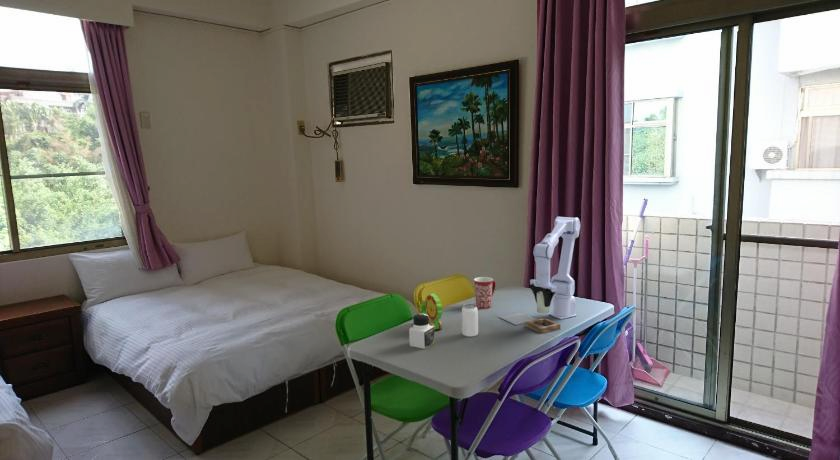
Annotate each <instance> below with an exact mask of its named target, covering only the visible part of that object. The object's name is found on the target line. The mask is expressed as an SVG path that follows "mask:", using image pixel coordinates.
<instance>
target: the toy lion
mask: <svg viewBox="0 0 840 460" xmlns="http://www.w3.org/2000/svg"><path fill="white" fill-rule="evenodd" d="M420 314H426V315H428V316H429V325H430V326H434V331H436V330H439V331H440V330H442V329H443V327H444V326H443V322H442V320H440V319H441V318H442V315H443V305H442V303H441V299H439V297H438V295H437V294H436V293H429V294H427V295H426V298H425V299H424V300H423V301H422V302H421V304H420Z"/></svg>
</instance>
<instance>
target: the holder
mask: <svg viewBox="0 0 840 460" xmlns="http://www.w3.org/2000/svg"><path fill="white" fill-rule="evenodd" d="M540 325H545V326H540ZM525 327H526V328H529V329H531V330H532V331H535V332H537V333H539V334H545V333H549V332H553V331H554V332H555V331H558V330H561V324H560V323H558V322H555V321H553V320H551V319H549V318H546V317H542V318H538V319H537V318H536V320H532V321H527V322H526V323H525Z"/></svg>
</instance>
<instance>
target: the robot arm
mask: <svg viewBox="0 0 840 460" xmlns="http://www.w3.org/2000/svg"><path fill="white" fill-rule="evenodd" d="M553 224H554V226H553V229H552V230H551V232H550V233H547V234H546V235H545V236H544V238H543V239H542V240H541V242H540V243H537V244H535V245H534V247H533V251H532V253H533V257H534V261H535V278H534V279H533V278H532V279H530V280H529V285H532V286H530V290H531V292H532V293H533V296H534V299H535V303H536V304H537V292H541V291H542V293H543V296H544V304H545V307H549V308H550V307H551V303H552V302H553V303H552V304H553V305H552V307H553V308H552V312H549V313H548V315H549V316H552V317H554V318H557V319H558V320H563V319H568V318H573V317H577V315H578V314H577V313H576V310H577V308H576V307H577V303H576V302H577V301H576V298H575V296H574V294H575V289H576V287H575V284H576V283H575V280H574V278H573V277H571V275H570V273H571V272H570V271H571V266H572V259H573V253H574V246H575V241H576V239H577V238H579V235H580V230H581V221H580V219H579V217H569V216H568V217H566V216H559V215H558V216H556V218H555V219H554V222H553ZM560 237H561V238H562V244H561V245H562V246H561V253H560V258H559V264H558V270H557V273H556V274H555V275H553V276H552V277H551V259H552V257H553V254H554V251H555V247H556V246H557V245H558V244H559V242H560V241H559V238H560Z"/></svg>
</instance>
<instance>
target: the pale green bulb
mask: <svg viewBox="0 0 840 460" xmlns="http://www.w3.org/2000/svg"><path fill="white" fill-rule="evenodd" d="M536 313H538V314H540V315H541V314H542V315H543V314H549V313H550V306H549V307H545V304H544V296H543V293H542V291H541V292H537V303H536Z"/></svg>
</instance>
